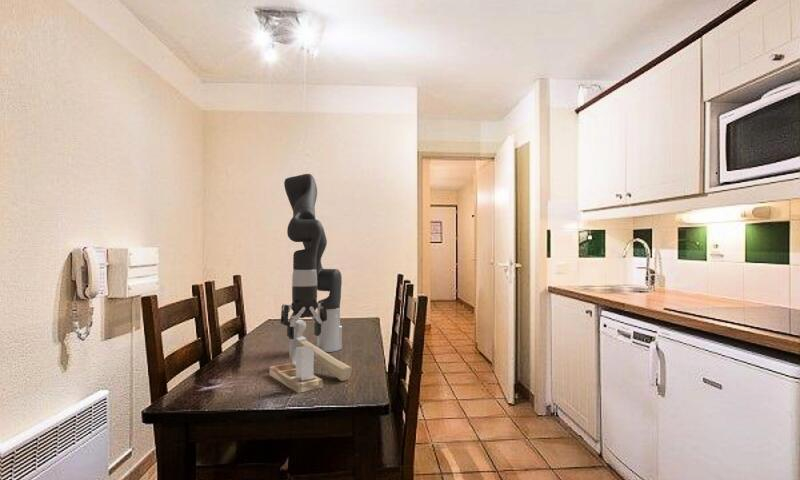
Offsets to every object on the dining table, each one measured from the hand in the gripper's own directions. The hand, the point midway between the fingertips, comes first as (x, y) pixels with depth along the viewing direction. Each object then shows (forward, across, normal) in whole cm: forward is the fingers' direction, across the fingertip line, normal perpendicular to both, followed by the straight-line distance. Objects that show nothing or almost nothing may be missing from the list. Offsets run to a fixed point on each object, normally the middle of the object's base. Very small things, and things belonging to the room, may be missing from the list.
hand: (304, 337), depth 138 cm
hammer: (+15, -11, -12) cm, 22 cm away
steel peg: (+15, 0, 0) cm, 15 cm away
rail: (+15, 0, -7) cm, 17 cm away
